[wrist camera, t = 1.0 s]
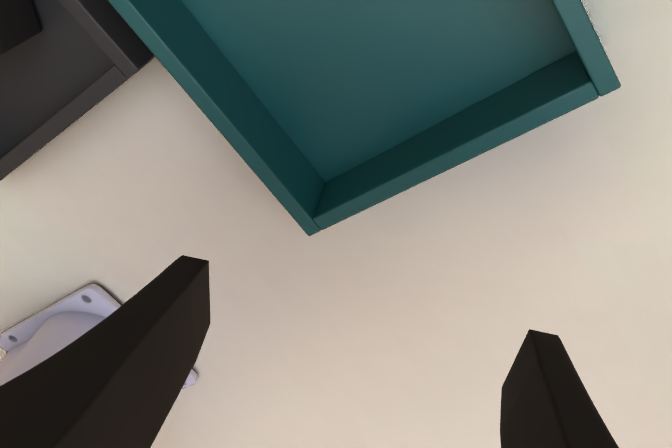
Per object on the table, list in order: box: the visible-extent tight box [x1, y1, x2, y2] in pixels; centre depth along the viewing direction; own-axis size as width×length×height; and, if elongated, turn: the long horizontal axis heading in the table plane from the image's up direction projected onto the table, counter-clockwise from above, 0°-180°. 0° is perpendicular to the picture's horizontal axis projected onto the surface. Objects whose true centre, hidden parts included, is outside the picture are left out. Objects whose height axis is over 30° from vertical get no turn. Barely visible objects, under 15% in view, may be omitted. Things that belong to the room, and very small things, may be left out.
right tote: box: [108, 0, 621, 236], centre depth 18 cm, size 11×11×3 cm
